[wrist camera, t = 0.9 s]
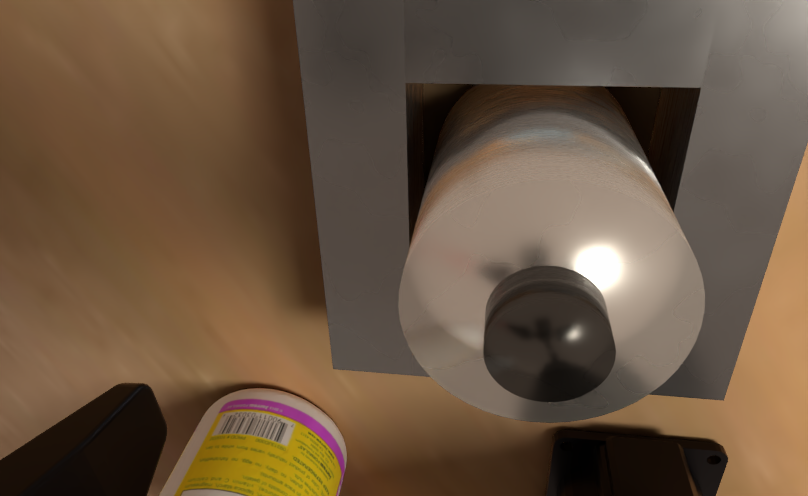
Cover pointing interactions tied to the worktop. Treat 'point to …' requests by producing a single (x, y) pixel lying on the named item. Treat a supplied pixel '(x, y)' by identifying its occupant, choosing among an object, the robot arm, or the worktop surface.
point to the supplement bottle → (261, 449)
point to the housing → (568, 66)
